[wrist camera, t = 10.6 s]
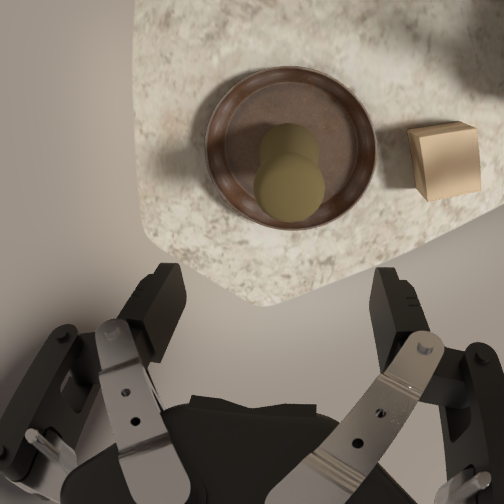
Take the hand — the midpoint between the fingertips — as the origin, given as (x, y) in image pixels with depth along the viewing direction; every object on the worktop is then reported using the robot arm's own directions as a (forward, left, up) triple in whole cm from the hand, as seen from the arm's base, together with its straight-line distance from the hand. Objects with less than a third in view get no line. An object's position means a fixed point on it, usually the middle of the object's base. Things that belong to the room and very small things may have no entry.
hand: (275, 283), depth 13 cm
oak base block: (0, +17, -24) cm, 29 cm away
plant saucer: (0, 0, -24) cm, 24 cm away
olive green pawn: (0, 0, -21) cm, 21 cm away
